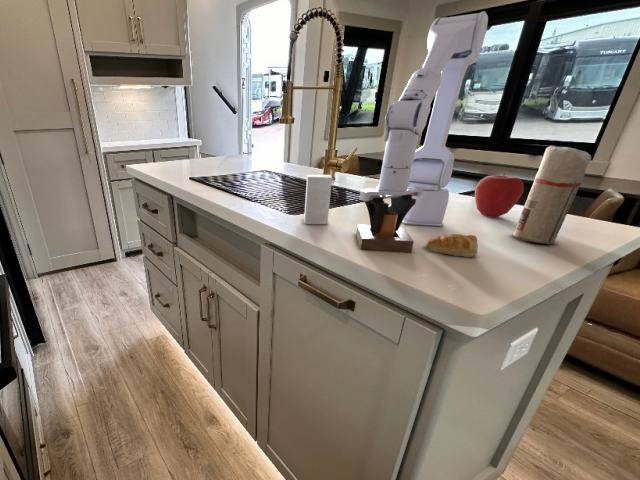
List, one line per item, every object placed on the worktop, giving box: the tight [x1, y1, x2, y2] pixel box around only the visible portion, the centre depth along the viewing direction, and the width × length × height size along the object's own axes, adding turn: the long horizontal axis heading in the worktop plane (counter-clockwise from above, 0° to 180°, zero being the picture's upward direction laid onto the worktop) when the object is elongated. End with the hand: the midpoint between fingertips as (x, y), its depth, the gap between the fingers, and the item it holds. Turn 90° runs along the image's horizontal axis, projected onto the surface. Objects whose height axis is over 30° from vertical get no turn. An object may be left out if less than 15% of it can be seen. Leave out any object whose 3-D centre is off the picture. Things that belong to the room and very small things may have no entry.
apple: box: [474, 172, 525, 218], centre depth 99 cm, size 11×11×12 cm
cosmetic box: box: [303, 174, 333, 225], centre depth 93 cm, size 6×4×12 cm
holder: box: [355, 224, 415, 253], centre depth 81 cm, size 10×10×2 cm
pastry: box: [425, 233, 479, 258], centre depth 76 cm, size 9×7×4 cm
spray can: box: [512, 145, 592, 245], centre depth 79 cm, size 8×8×20 cm
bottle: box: [373, 204, 398, 237], centre depth 79 cm, size 4×4×8 cm
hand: (384, 230), depth 80 cm, fingers closed on bottle, 4 cm apart
